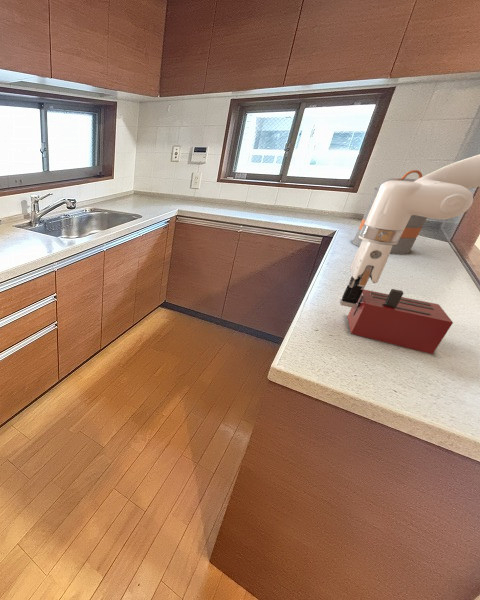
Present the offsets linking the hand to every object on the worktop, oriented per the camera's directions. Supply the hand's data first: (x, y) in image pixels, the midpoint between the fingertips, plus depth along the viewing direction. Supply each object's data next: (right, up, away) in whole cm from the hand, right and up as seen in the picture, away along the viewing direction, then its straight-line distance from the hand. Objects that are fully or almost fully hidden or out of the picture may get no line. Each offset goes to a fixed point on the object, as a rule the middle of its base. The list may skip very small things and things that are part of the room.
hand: (349, 300), depth 88 cm
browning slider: (+4, -1, -7) cm, 8 cm away
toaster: (+8, -9, -2) cm, 12 cm away
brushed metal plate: (0, -1, +1) cm, 1 cm away
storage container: (+74, +26, +71) cm, 106 cm away
